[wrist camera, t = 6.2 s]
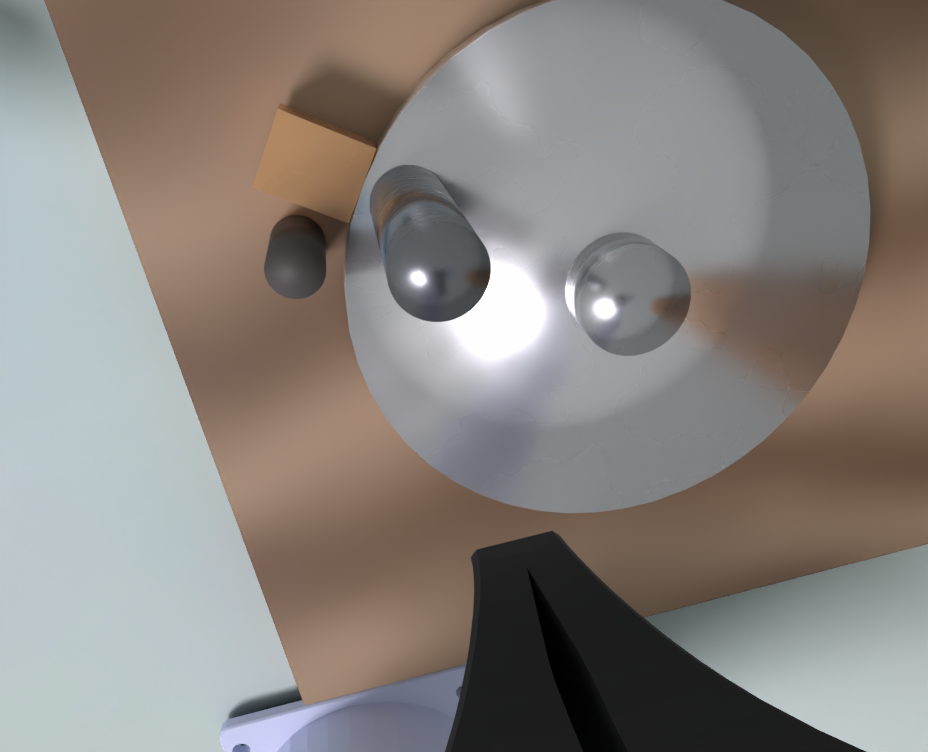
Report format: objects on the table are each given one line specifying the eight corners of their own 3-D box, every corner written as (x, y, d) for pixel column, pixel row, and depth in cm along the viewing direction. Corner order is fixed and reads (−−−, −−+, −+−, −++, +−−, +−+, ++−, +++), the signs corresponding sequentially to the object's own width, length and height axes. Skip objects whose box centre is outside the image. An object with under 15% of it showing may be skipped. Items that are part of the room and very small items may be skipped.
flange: (940, 124, 19) (1172, 169, 14) (692, 538, 23) (800, 693, 18) (370, -178, 15) (397, -274, 10) (185, 392, 19) (135, 539, 14)
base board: (920, 509, 26) (1005, 580, 23) (304, 667, 25) (303, 767, 22) (992, -371, 17) (1156, -462, 13) (-3, -194, 15) (-90, -248, 12)
